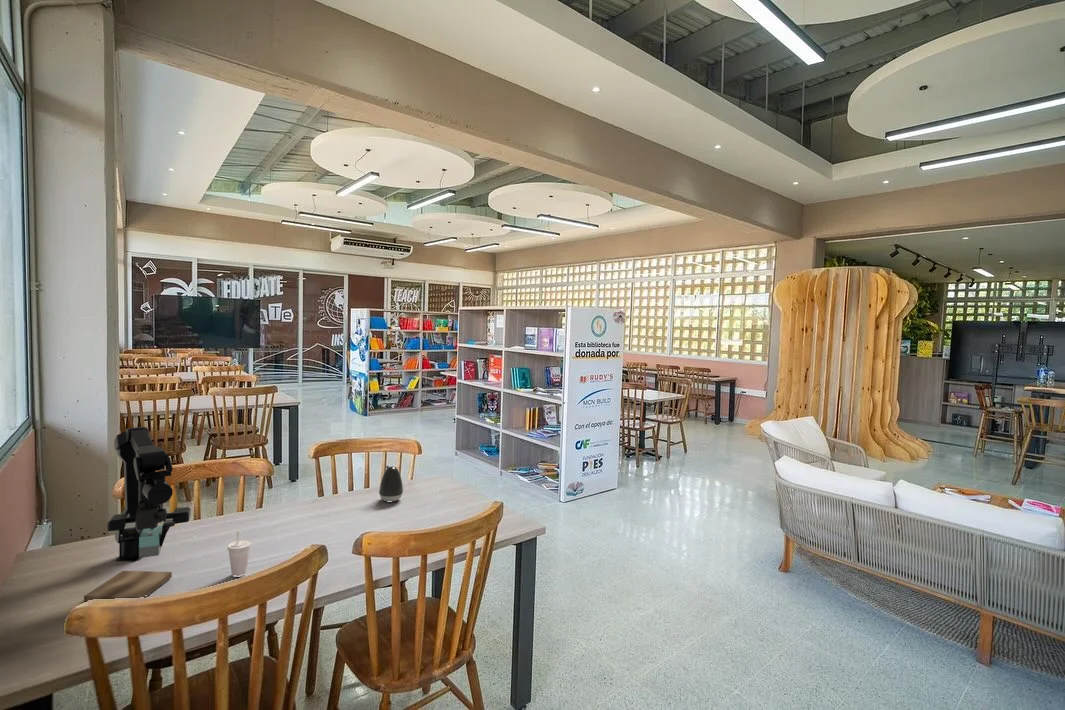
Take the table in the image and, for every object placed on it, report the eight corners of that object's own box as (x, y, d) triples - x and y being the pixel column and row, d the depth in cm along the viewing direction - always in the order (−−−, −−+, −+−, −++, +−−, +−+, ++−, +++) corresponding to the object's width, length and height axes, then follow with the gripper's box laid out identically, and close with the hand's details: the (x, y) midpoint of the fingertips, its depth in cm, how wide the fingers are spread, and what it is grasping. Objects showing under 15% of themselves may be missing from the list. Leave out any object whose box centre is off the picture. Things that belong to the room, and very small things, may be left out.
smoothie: (224, 574, 157) (224, 529, 156) (247, 567, 161) (248, 524, 161) (230, 582, 152) (230, 536, 152) (253, 575, 157) (254, 531, 156)
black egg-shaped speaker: (396, 495, 234) (397, 462, 233) (406, 501, 226) (407, 467, 225) (374, 499, 227) (375, 465, 226) (384, 506, 219) (385, 471, 218)
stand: (83, 603, 138) (83, 596, 138) (122, 577, 152) (122, 570, 152) (138, 604, 139) (138, 597, 139) (171, 578, 153) (171, 571, 153)
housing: (143, 547, 151) (143, 526, 150) (162, 545, 153) (162, 524, 152) (139, 558, 144) (139, 536, 144) (158, 555, 147) (158, 533, 146)
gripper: (102, 508, 136) (102, 565, 137) (187, 499, 145) (186, 553, 146) (112, 494, 146) (112, 548, 147) (191, 487, 155) (190, 538, 156)
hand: (150, 547), depth 149 cm, fingers closed on housing, 4 cm apart
